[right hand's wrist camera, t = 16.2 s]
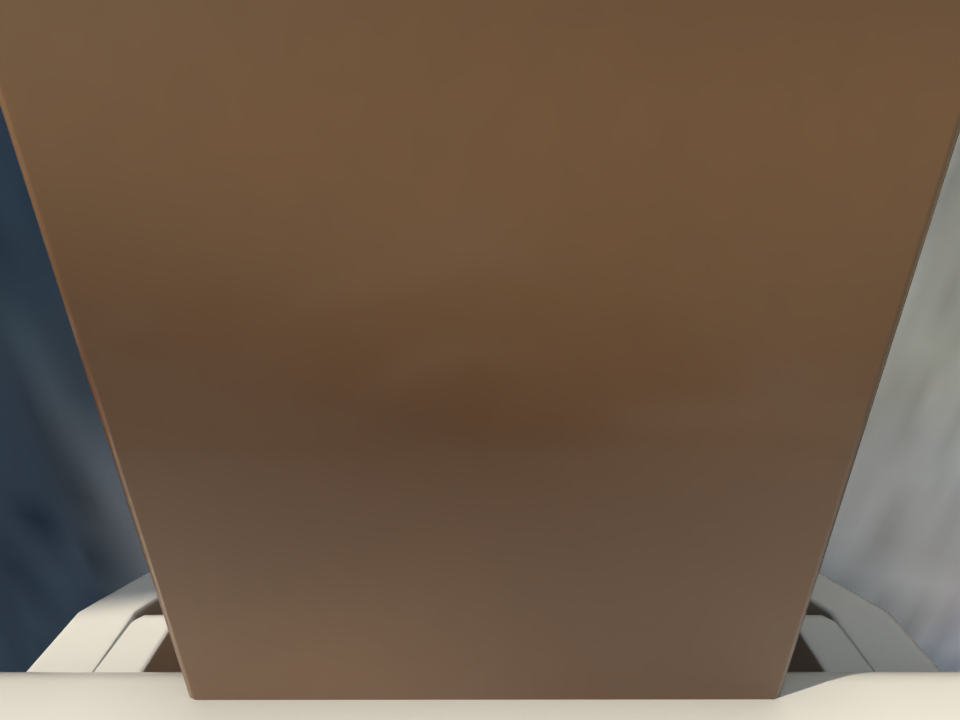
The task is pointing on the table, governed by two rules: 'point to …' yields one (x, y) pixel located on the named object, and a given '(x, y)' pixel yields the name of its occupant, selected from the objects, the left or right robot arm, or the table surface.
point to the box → (483, 319)
